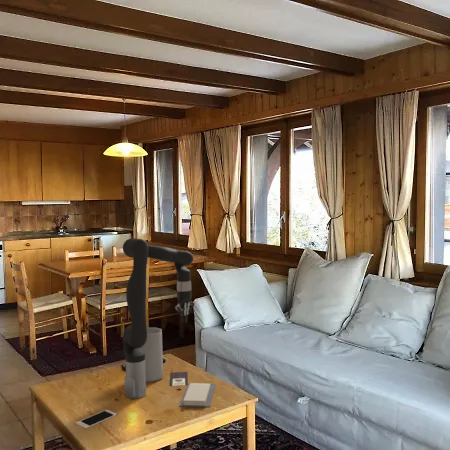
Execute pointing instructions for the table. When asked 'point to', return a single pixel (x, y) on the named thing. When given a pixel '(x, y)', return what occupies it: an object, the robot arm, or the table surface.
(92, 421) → the cell phone
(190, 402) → the tile
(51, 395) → the table surface
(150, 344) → the cylinder vase
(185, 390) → the felt mat
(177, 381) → the chocolate bar
